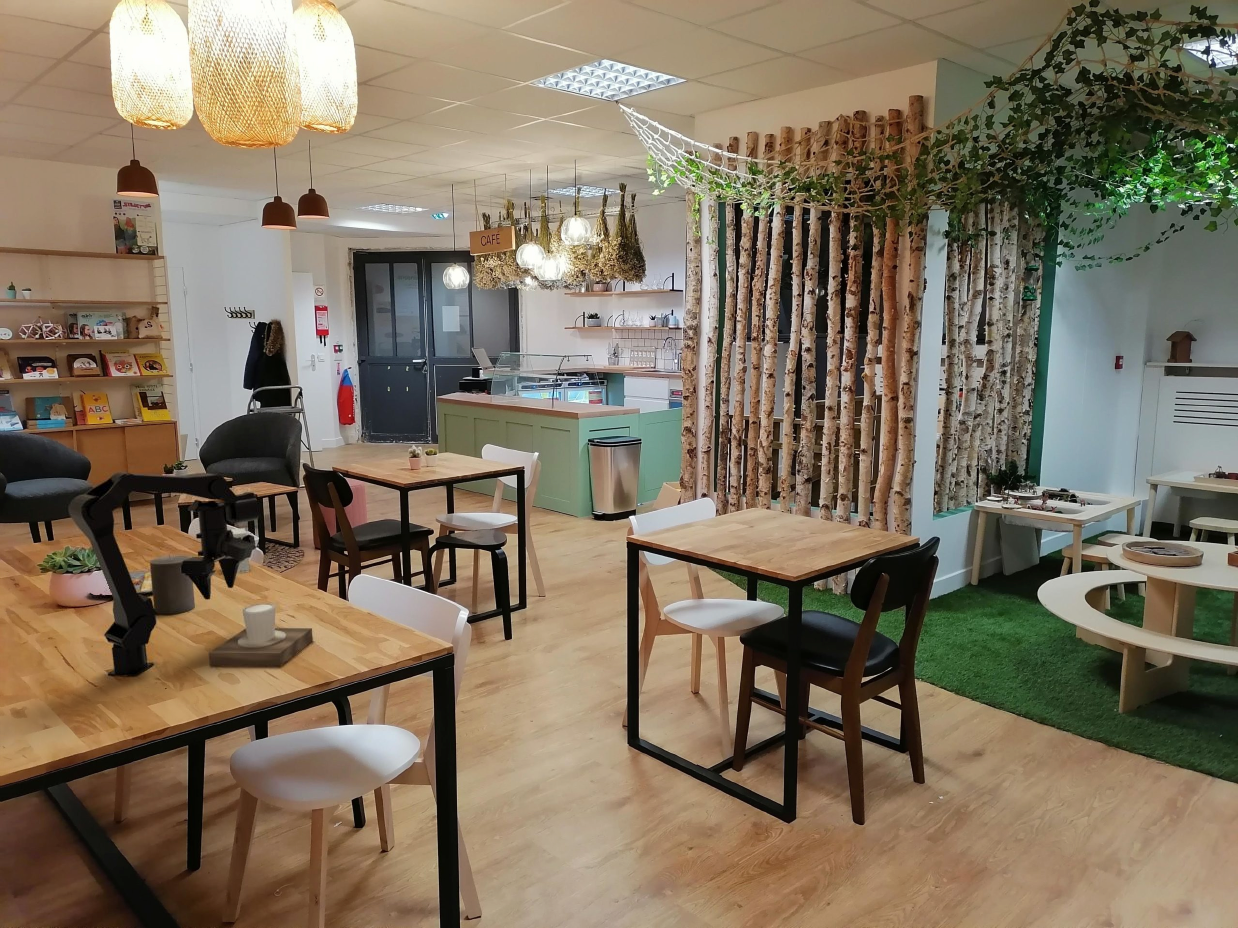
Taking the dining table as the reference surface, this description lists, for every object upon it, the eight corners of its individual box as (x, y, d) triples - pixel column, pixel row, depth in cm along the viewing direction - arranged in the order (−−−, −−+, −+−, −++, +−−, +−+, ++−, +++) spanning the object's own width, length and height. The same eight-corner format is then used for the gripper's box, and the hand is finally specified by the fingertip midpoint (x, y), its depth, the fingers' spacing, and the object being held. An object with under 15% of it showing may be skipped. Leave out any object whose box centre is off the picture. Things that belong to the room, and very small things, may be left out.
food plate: (100, 581, 257) (99, 569, 257) (186, 572, 265) (185, 561, 265) (81, 606, 234) (80, 594, 233) (176, 596, 242) (175, 584, 242)
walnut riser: (280, 666, 185) (279, 650, 185) (209, 665, 187) (208, 650, 186) (312, 640, 201) (311, 626, 201) (247, 640, 202) (246, 625, 202)
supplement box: (223, 570, 267) (219, 530, 265) (249, 566, 270) (245, 527, 268) (223, 575, 260) (219, 535, 258) (249, 572, 263) (246, 532, 261)
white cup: (265, 644, 189) (263, 613, 188) (238, 642, 191) (235, 612, 190) (284, 633, 196) (281, 603, 195) (257, 631, 197) (254, 602, 196)
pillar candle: (157, 617, 221) (152, 560, 219) (151, 608, 229) (146, 553, 227) (198, 610, 227) (194, 555, 225) (191, 601, 235) (187, 548, 232)
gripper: (222, 537, 187) (228, 606, 189) (267, 519, 206) (272, 582, 208) (175, 536, 189) (182, 605, 191) (224, 519, 207) (229, 582, 209)
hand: (219, 593), depth 200 cm, fingers open, 9 cm apart
